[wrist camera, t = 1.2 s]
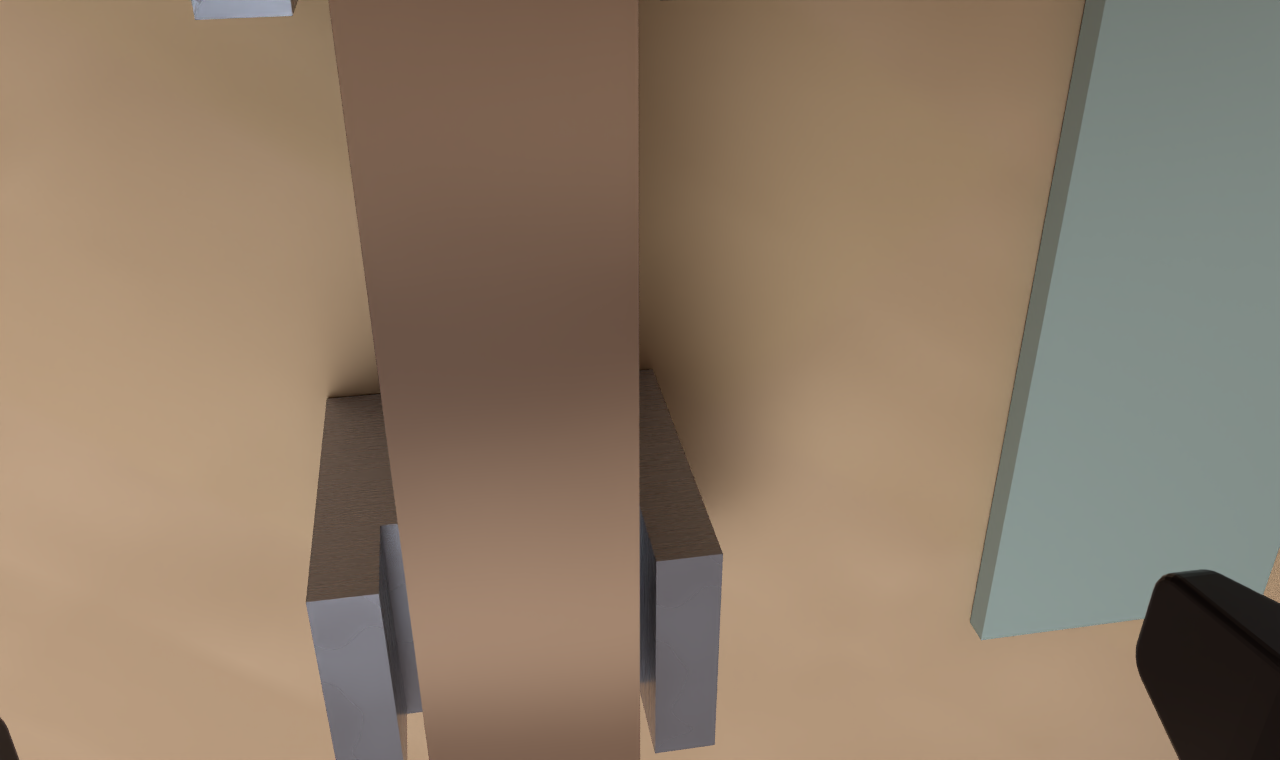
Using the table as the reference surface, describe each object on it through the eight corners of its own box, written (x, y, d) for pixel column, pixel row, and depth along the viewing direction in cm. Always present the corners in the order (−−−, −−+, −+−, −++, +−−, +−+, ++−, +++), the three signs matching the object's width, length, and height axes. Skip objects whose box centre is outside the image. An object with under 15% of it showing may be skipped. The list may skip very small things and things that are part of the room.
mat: (1244, 586, 28) (1259, 602, 27) (970, 622, 27) (980, 640, 26) (1510, -204, 19) (1539, -201, 19) (1122, -197, 18) (1143, -195, 18)
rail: (609, 687, 20) (640, 828, 18) (436, 710, 20) (442, 858, 17) (587, -421, 12) (637, -452, 10) (296, -423, 12) (266, -460, 9)
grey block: (651, 537, 24) (714, 744, 19) (354, 571, 23) (342, 796, 18) (652, 369, 22) (723, 553, 17) (327, 398, 21) (305, 602, 16)
